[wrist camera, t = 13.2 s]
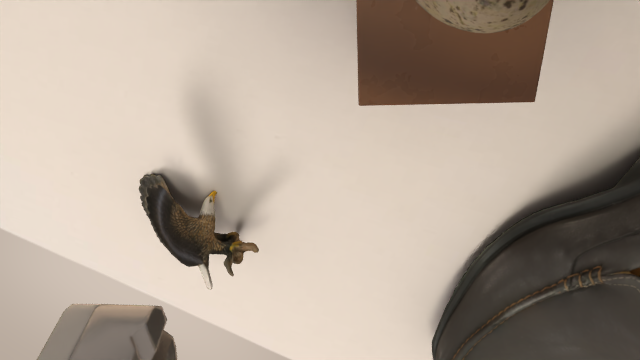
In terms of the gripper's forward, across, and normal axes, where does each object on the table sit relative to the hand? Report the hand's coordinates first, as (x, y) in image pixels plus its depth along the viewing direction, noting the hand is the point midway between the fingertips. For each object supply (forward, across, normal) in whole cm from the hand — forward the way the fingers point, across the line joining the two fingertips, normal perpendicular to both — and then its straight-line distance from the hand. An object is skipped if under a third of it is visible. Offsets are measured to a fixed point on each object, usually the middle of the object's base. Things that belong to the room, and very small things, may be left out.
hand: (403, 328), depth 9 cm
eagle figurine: (+28, +14, +20) cm, 37 cm away
